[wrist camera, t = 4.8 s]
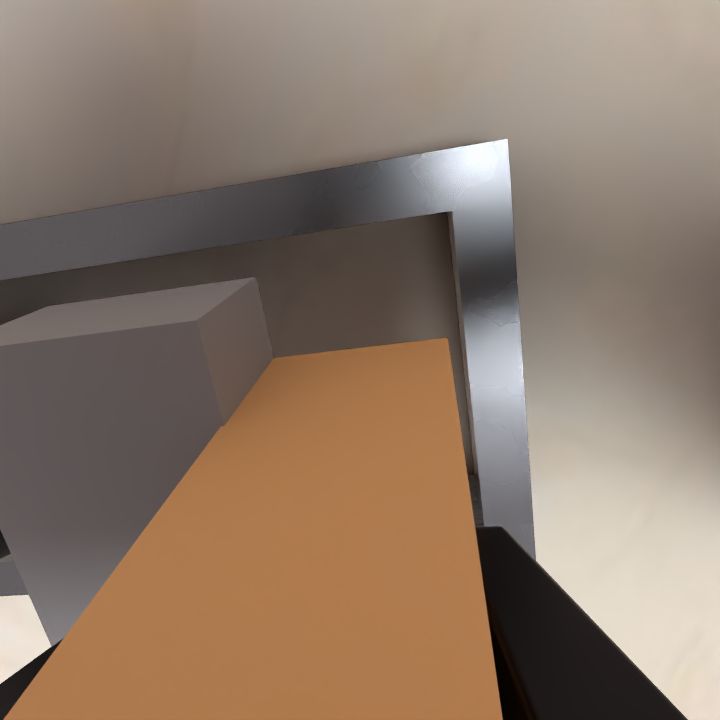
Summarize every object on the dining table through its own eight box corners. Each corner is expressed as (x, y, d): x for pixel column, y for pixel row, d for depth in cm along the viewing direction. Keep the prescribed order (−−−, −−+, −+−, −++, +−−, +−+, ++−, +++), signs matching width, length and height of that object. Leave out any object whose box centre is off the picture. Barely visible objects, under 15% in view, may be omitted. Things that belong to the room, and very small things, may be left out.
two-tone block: (437, 251, 10) (653, 1487, 1) (471, 558, 12) (633, 1840, 3) (47, 306, 11) (-1797, 1048, 2) (143, 577, 13) (-491, 1537, 4)
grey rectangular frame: (491, 141, 13) (507, 139, 11) (519, 505, 17) (535, 563, 14) (-174, 254, 16) (-276, 271, 14) (-36, 548, 19) (-98, 602, 17)
